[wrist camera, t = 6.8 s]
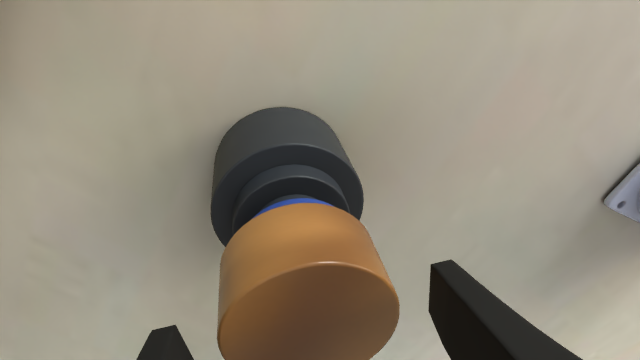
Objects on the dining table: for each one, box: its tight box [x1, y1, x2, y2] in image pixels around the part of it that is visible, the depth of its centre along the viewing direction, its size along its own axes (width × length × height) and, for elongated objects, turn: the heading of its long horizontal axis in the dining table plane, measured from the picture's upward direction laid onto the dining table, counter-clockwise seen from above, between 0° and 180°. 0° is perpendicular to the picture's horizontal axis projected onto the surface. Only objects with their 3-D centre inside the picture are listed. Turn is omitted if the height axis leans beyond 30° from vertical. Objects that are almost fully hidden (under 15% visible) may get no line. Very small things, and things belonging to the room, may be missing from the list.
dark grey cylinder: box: [211, 107, 364, 247], centre depth 15 cm, size 6×6×6 cm
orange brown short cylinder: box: [217, 203, 400, 360], centre depth 11 cm, size 5×5×3 cm
